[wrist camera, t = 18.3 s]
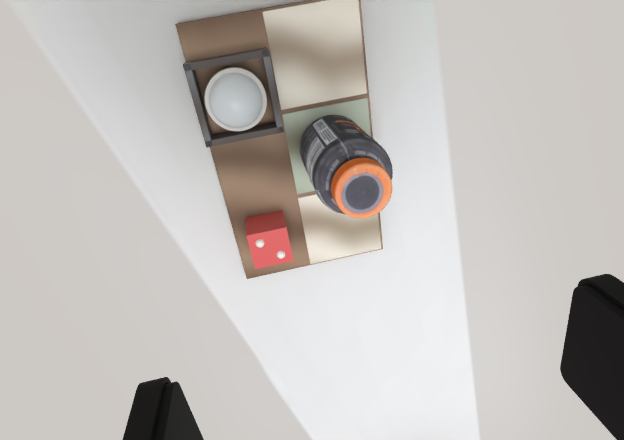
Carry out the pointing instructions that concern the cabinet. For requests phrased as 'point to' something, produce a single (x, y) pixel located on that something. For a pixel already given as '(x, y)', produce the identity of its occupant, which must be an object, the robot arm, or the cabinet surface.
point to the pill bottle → (346, 166)
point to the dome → (235, 98)
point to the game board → (285, 118)
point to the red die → (268, 239)
